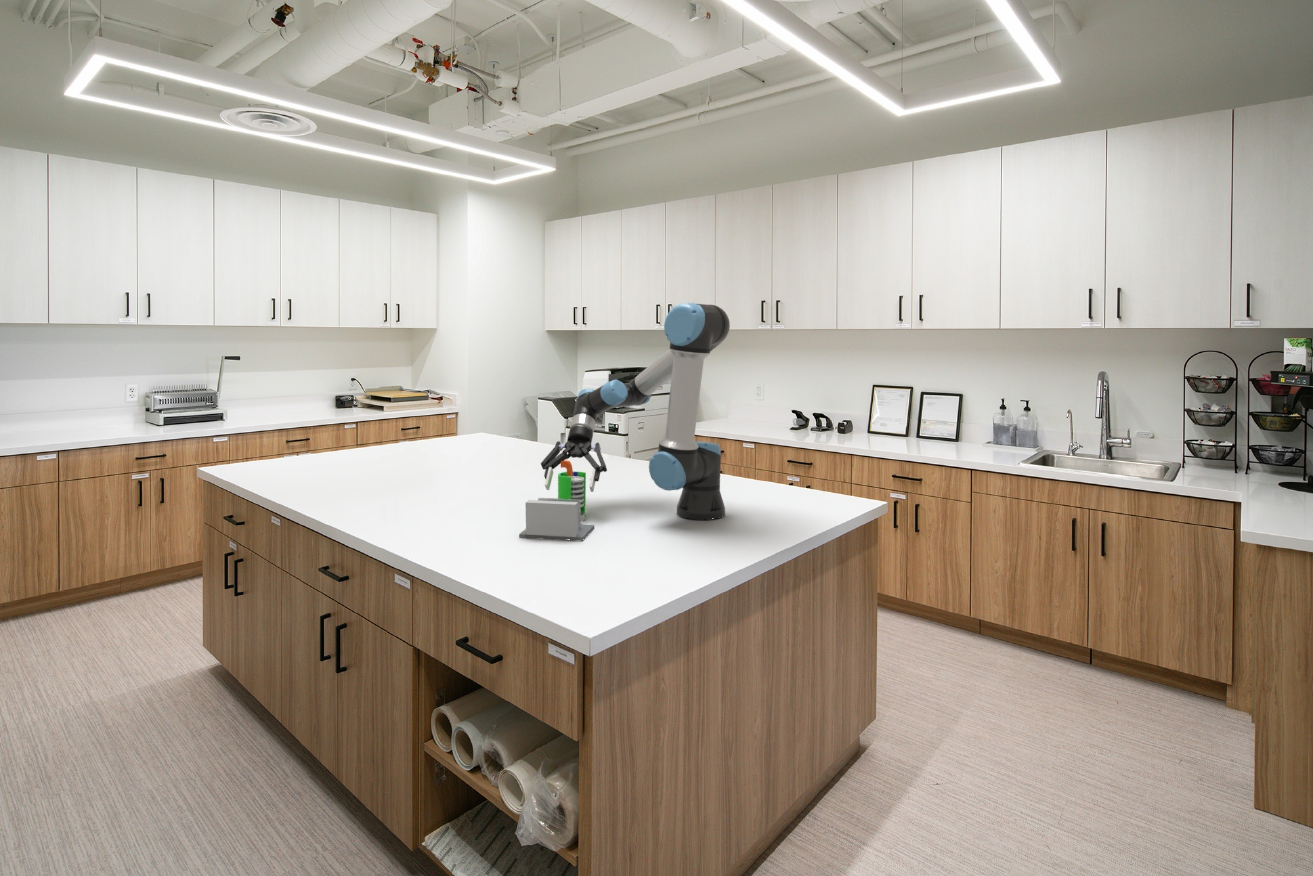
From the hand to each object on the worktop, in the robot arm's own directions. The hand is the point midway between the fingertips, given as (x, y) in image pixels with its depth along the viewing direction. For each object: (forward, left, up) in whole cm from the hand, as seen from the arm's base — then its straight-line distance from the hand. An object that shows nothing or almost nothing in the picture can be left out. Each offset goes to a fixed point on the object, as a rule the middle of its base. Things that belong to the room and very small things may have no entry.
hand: (568, 488), depth 209 cm
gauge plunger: (+1, +12, -9) cm, 15 cm away
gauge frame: (0, +12, -10) cm, 15 cm away
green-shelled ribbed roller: (0, -2, -10) cm, 11 cm away
